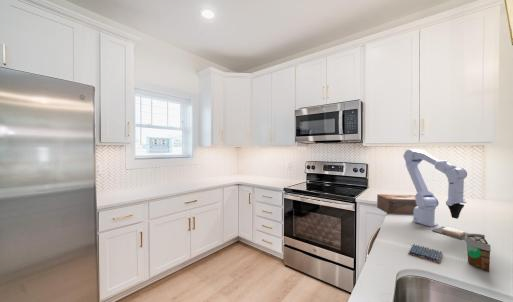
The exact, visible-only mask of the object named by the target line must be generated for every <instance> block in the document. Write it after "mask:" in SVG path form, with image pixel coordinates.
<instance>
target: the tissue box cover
mask: <svg viewBox="0 0 513 302" xmlns="http://www.w3.org/2000/svg"><path fill="white" fill-rule="evenodd" d="M376 195H377V197H376V198H377V199H376V200H377V201H376V202H377V203H376V208H377V209H379V210H381V211H383V212H384V213H386V214H391V215H392V214H397V215H398V214H399V215H400V214H401V215H413V212H414V208H415V207H416V206H417V204H416V198H415V195H416V194H415V195H414V194H378V193H377V194H376Z"/></svg>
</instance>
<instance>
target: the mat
mask: <svg viewBox="0 0 513 302" xmlns="http://www.w3.org/2000/svg"><path fill="white" fill-rule="evenodd" d="M446 227H447V226H442V227H439V228H438V227H437V228H435V229H432V230H431V232H433V233H438V234H440V235H444V236H448V237H451V238H454V239H458V240H461V241H462V240H464V239H465V236H466V235H467V234H470V232H469V233H468V232H465V235H464V236H461V237H457V236H454V235H450V234H447V233H443V232H442V228H446Z"/></svg>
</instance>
